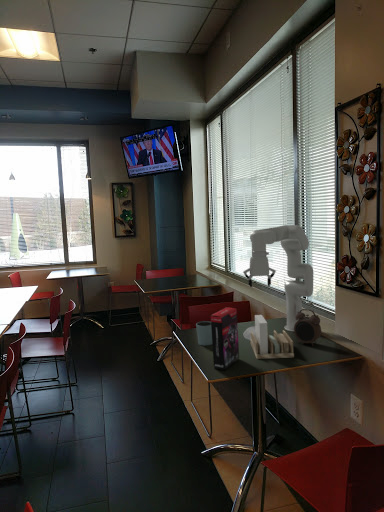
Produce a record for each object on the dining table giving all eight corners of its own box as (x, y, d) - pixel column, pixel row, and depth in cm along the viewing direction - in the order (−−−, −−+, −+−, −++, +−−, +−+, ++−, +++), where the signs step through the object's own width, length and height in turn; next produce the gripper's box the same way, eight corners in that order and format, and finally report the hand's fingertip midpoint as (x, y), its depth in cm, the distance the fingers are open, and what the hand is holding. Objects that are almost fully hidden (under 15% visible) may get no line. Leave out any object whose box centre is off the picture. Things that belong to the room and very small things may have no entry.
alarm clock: (292, 343, 211) (292, 309, 209) (298, 339, 216) (298, 306, 214) (316, 348, 201) (316, 312, 199) (322, 344, 206) (322, 309, 204)
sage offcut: (272, 345, 209) (272, 335, 209) (279, 356, 193) (279, 345, 193) (268, 345, 209) (267, 335, 208) (275, 356, 193) (274, 345, 193)
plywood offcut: (282, 345, 208) (282, 333, 208) (288, 355, 194) (288, 342, 193) (277, 345, 209) (277, 333, 208) (284, 355, 194) (283, 342, 193)
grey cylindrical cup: (204, 347, 211) (204, 327, 209) (193, 343, 218) (192, 323, 217) (217, 342, 217) (216, 323, 216) (205, 339, 225) (204, 319, 224)
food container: (258, 328, 239) (257, 319, 238) (279, 342, 216) (278, 332, 215) (237, 334, 235) (236, 324, 234) (255, 349, 211) (254, 338, 210)
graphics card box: (224, 371, 177) (222, 316, 174) (212, 368, 180) (209, 314, 178) (239, 359, 191) (237, 307, 188) (227, 356, 195) (225, 306, 192)
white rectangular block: (262, 345, 209) (261, 314, 207) (268, 356, 193) (267, 323, 191) (255, 345, 209) (254, 315, 207) (260, 356, 193) (259, 323, 192)
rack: (283, 342, 212) (283, 329, 211) (293, 357, 190) (293, 342, 189) (250, 344, 212) (250, 330, 211) (256, 358, 190) (256, 343, 190)
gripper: (273, 253, 199) (274, 284, 201) (241, 254, 200) (242, 285, 201) (276, 254, 192) (277, 287, 194) (243, 256, 192) (244, 288, 194)
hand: (259, 286), depth 197 cm, fingers open, 9 cm apart
